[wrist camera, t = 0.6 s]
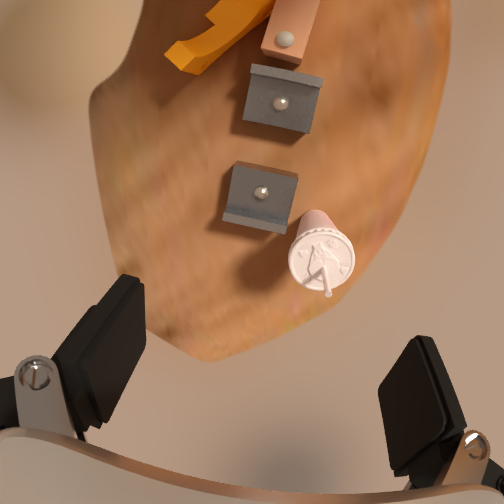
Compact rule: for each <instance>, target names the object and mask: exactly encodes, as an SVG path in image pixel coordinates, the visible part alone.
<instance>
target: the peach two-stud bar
mask: <svg viewBox="0 0 504 504" xmlns="http://www.w3.org/2000/svg"><path fill="white" fill-rule="evenodd" d="M319 3H320V0H276V2H275V5H274V8H273V11H272V14H271V17H270V20H269V23H268V26H267V29H266V32H265V35H264V39H263V42H262V45H261V50H262V52H263V54H264V55H265V56H269V57H273V58H277V59H280V60H284V61H288V62H291V63H295V64H298V65H300V64H301V60H302V57H303V54H304V51H305V48H306V44H307V41H308V38H309V35H310V32H311V29H312V25H313V22H314V19H315V16H316V13H317V10H318V6H319Z"/></svg>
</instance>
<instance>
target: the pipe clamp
mask: <svg viewBox="0 0 504 504" xmlns="http://www.w3.org/2000/svg"><path fill="white" fill-rule="evenodd" d="M275 2H276V0H220V1H219V2H218V3H217V4H216V5H215V6H214V7H213V8H212V9H211V10H210V11H209V12H208V13H207V14H205V16H206V17H207V18H208V19H209V20H210V21H211V22H213V23H214V24H215V25H214V26H213V27H211V28H210V29H209V30H207V31H206V32H204V33H202V34H201V35H199V36H197V37H195V38H193V39H190V40H187V41H179V40H178V41H177V42H176V43H175V44H174V45H173V46H172V47H171V48H170V49H169V50H168V51H167V52H166V53H165V54H164V55H165V56H166V57H167V58H168V59H169V60H170V61H171V62H172V63H174V64H175V65H176V66H177V67H178V68H179V69H180V70H181V71H184V72H188V73H192V74H196V75H200V74H201V73H202V72H203V71H204V70H205V69H206V68H207V67H209V66H210V65H211V64H212V63H213V62H214V61H215V60H216V59H217V58H219V57H220V56H221V55H222V54H223V53H224V52H225V51H227V50H228V49H229V48H230V47H231V46H232V45H234V44H235V43H236V42H237V41H238V40H240V39H241V38H242V37H243V36H244V35H246V34H247V33H248V32H249V31H251V30H252V29H253V28H254V27H256V26H257V25H258V24H260V23H261V22H262V21H264V20H265V19H266V18H268V17H269V16H270V15H271V14H272V11H273V8H274V5H275Z"/></svg>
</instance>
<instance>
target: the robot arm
mask: <svg viewBox="0 0 504 504" xmlns="http://www.w3.org/2000/svg"><path fill="white" fill-rule="evenodd" d="M145 345H146V326H145V294H144V284H143V283H140V279H139V278H137V277H134V276H130V275H126V274H122V275H121V276H120V277H119V278H118V279H117V281H116V282H115V283H114V284H113V286H112V287H111V288H110V289H109V290H108V292H107V293H106V294H105V295H104V297H103V298H102V299H101V300H100V302H99V303H98V304H97V305H93V306H91V307H90V308H89V309H88V311H87V312H86V313H85V314H84V316H83V317H82V318H81V319H80V321H79V322H78V323H77V324H76V326H75V327H74V329H73V330H72V331H71V332H70V334H69V335H68V336H67V338H66V339H65V340H64V342H63V343H62V344H61V346H60V347H59V348H58V350H57V351H56V352H55V354H54V355H53V356H52V358H51V359H49V358H48V357H45V356H41V355H39V356H38V355H36V356H31V357H27V358H26V359H24V360H22V361H21V362H20V363H19V364H18V366H17V367H16V370H15V373H14V376H11V377H6V378H2V379H0V504H504V469H503V468H502V467H500V466H499V465H498V464H496V463H495V462H494V461H492V460H491V459H490V458H489V457H490V445H489V442H488V440H487V438H486V437H485V436H484V435H483V434H482V433H480V432H478V431H476V430H470V431H467V432H466V433H464V429H465V428H466V427H467V424H466V421H465V418H464V415H463V412H462V409H461V407H460V404H459V401H458V398H457V396H456V393H455V391H454V388H453V385H452V383H451V380H450V378H449V375H448V373H447V370H446V368H445V366H444V363H443V361H442V359H441V356H440V354H439V352H438V349H437V347H436V345H435V343H434V340H433V339H432V338H431V337H428V336H420V335H417V336H416V337H414V338H413V339H411V340H410V341H409V343H408V344H407V346H406V347H405V349H404V350H403V352H402V354H401V355H400V357H399V358H398V360H397V361H396V363H395V364H394V366H393V367H392V369H391V370H390V371H389V373H388V374H387V376H386V377H385V379H384V380H383V382H382V383H381V384H380V386H379V388H378V397H379V402H380V408H381V413H382V418H383V423H384V429H385V435H386V442H387V448H388V454H389V461H390V467H391V469H392V470H394V476H395V477H401V476H407V475H409V479H410V480H409V481H408V483H407V484H406V486H405V488H404V489H403V490H402V491H393V492H380V493H363V494H313V493H311V494H310V493H294V492H283V491H272V490H264V489H256V488H249V487H242V486H236V485H230V484H224V483H219V482H214V481H209V480H205V479H200V478H196V477H192V476H188V475H183V474H180V473H176V472H172V471H169V470H165V469H162V468H158V467H155V466H152V465H149V464H145V463H142V462H139V461H136V460H133V459H130V458H127V457H124V456H121V455H118V454H116V453H113V452H110V451H108V450H105V449H103V448H100V447H97V446H94V445H92V444H89V443H88V440H87V437H86V435H85V432H86V431H87V430H88V428H89V426H90V425H91V426H93V427H96V428H98V429H100V428H101V425H102V423H103V422H104V423H107V422H108V421H109V420H110V417H111V415H112V413H113V411H114V409H115V407H116V405H117V403H118V401H119V399H120V397H121V394H122V392H123V391H124V389H125V387H126V385H127V383H128V381H129V379H130V377H131V375H132V373H133V371H134V368H135V366H136V365H137V363H138V361H139V359H140V357H141V355H142V353H143V351H144V349H145Z"/></svg>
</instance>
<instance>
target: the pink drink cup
mask: <svg viewBox="0 0 504 504" xmlns="http://www.w3.org/2000/svg"><path fill="white" fill-rule="evenodd" d="M288 262H289V269H290V272H291V274H292V276H293V278H294V279H295V280H296V281H297V282H298V283H299V284H300V285H302V286H304V287H306V288H308V289H311V290H317V291H325V296H326V297H330V296H331V295H332V293H331V289H333V288H335V287H337V286H339V285H341V284H342V283H343V282H345V281H346V280H347V279H348V277H349V276H350V275H351V273H352V271H353V268H354V265H355V255H354V250H353V247H352V244H351V242H350V241H349V239H348V238H347V237H346V236H345V235H344V234H342V233H341V232H339V231H338V229H337V228H336V227H335V225H334V224H333V223H332V221H331V220H330V219H329V217H328V216H327V215H326V214H325V213H324V212H323V211H320V210H310V211H308V212H306V213H305V214H304V215H303V216H302V217H301V220H300V223H299V227H298V231H297V235H296V239H295V241H294V242H293V243H292V245H291V248H290V250H289V255H288Z"/></svg>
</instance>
